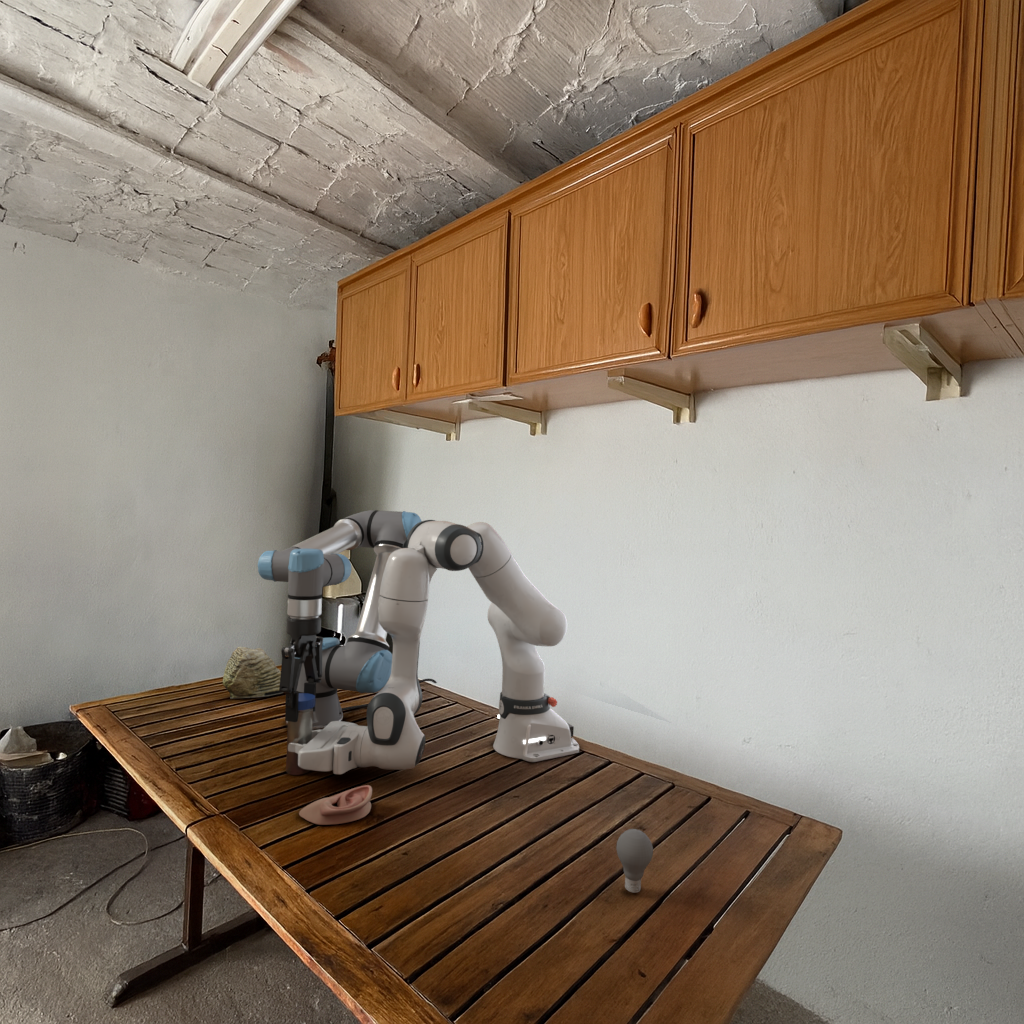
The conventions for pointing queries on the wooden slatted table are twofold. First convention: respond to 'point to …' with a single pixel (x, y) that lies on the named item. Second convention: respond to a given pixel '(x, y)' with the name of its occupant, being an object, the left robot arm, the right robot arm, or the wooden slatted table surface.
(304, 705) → the lid
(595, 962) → the wooden slatted table surface
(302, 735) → the jar
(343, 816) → the anatomical model
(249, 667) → the fossil
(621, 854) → the light bulb
